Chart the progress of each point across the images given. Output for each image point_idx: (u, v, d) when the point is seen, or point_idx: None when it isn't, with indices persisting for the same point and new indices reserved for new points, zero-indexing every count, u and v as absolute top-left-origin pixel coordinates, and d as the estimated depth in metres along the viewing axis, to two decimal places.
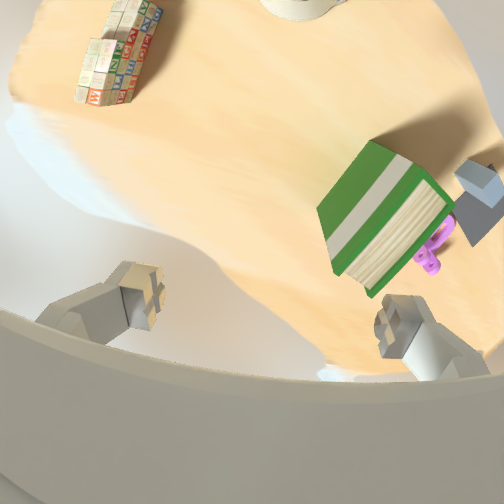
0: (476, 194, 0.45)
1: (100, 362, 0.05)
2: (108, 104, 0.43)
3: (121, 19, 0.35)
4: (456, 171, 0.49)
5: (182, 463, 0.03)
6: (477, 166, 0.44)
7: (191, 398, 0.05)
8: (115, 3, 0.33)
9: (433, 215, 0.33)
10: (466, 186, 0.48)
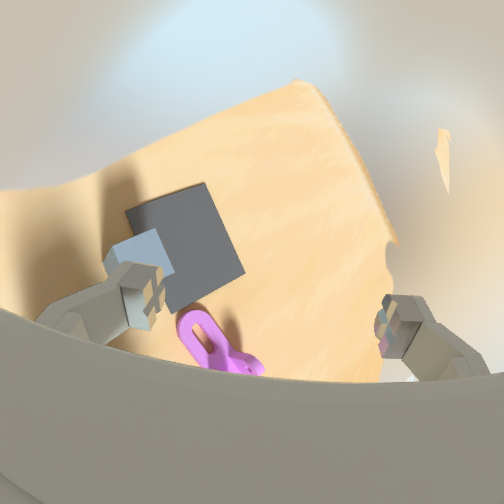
0: None
1: (100, 362, 0.05)
2: None
3: None
4: None
5: (183, 464, 0.03)
6: (108, 262, 0.32)
7: (191, 398, 0.05)
8: None
9: None
10: None
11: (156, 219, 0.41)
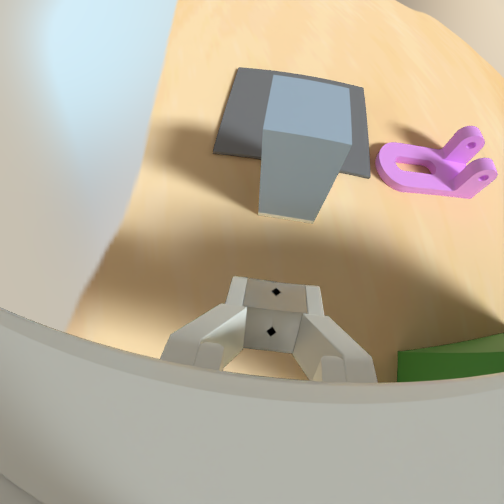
0: None
1: (100, 362, 0.05)
2: None
3: None
4: (307, 218, 0.26)
5: (182, 464, 0.03)
6: (270, 186, 0.21)
7: (191, 398, 0.05)
8: None
9: None
10: None
11: (247, 125, 0.29)
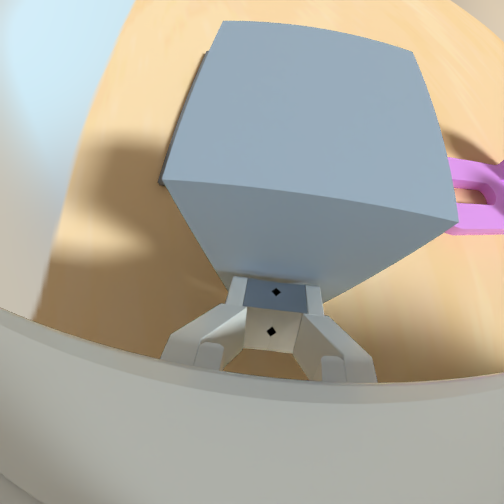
0: None
1: (100, 362, 0.05)
2: None
3: None
4: None
5: (182, 463, 0.03)
6: (236, 273, 0.11)
7: (191, 398, 0.05)
8: None
9: None
10: None
11: None
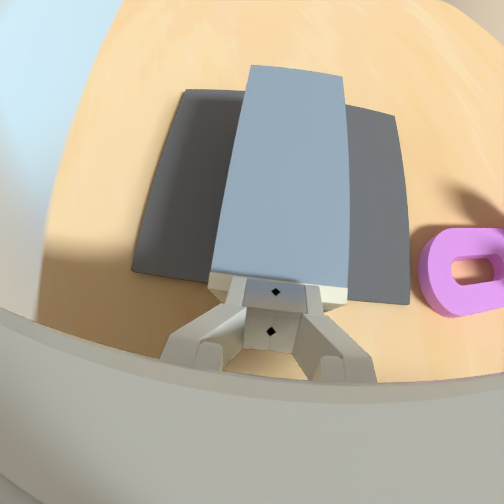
0: None
1: (100, 362, 0.05)
2: None
3: None
4: (330, 274, 0.11)
5: (183, 464, 0.03)
6: (249, 158, 0.12)
7: (191, 398, 0.05)
8: None
9: None
10: None
11: (190, 211, 0.17)
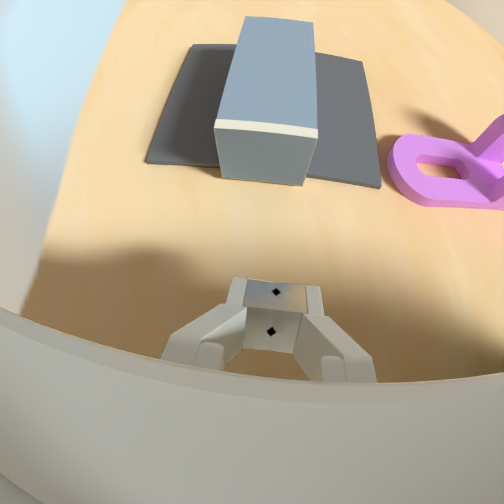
0: None
1: (100, 362, 0.05)
2: None
3: None
4: (304, 121, 0.14)
5: (183, 463, 0.03)
6: (244, 62, 0.15)
7: (191, 398, 0.05)
8: None
9: None
10: None
11: (197, 118, 0.20)
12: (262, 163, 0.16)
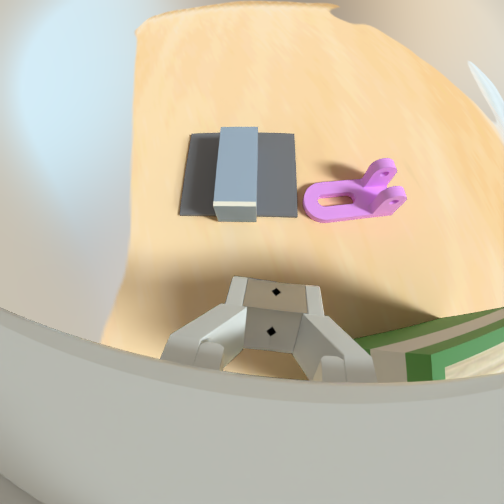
0: None
1: (100, 362, 0.05)
2: None
3: None
4: (250, 198, 0.35)
5: (182, 464, 0.03)
6: (222, 166, 0.36)
7: (191, 398, 0.05)
8: None
9: (470, 361, 0.12)
10: None
11: (202, 189, 0.41)
12: (235, 215, 0.37)
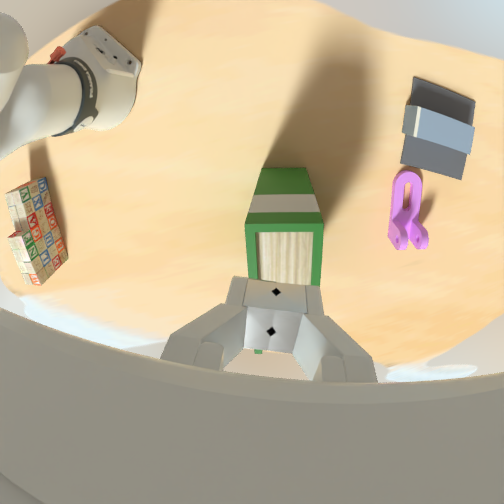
0: None
1: (100, 362, 0.05)
2: (48, 277, 0.55)
3: (17, 212, 0.47)
4: (419, 133, 0.38)
5: (183, 464, 0.03)
6: (445, 120, 0.36)
7: (191, 398, 0.05)
8: (7, 199, 0.46)
9: (307, 251, 0.29)
10: None
11: (431, 98, 0.38)
12: (408, 119, 0.39)
